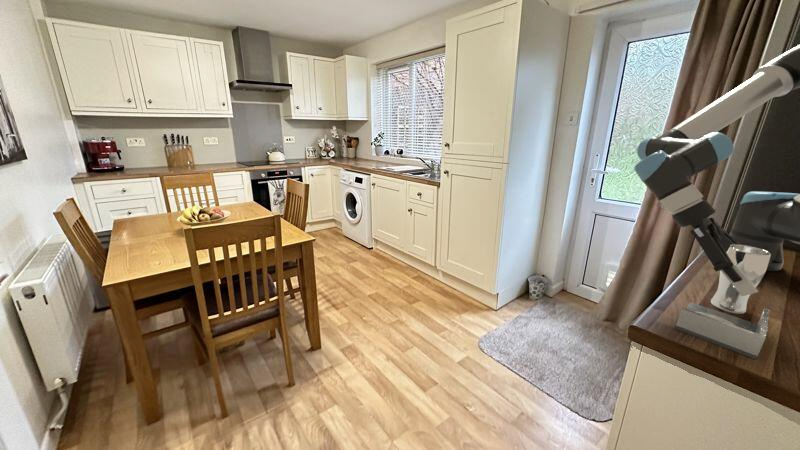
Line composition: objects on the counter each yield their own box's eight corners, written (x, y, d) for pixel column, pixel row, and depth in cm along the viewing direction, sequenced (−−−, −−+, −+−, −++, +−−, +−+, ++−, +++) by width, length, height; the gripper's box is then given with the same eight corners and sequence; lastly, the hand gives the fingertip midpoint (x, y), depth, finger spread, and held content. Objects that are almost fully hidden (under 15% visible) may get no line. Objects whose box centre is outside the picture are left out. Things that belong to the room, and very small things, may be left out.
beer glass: (700, 298, 80) (720, 243, 76) (728, 299, 80) (750, 244, 76) (726, 314, 74) (749, 255, 69) (756, 315, 74) (782, 256, 69)
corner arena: (689, 304, 77) (695, 287, 76) (761, 329, 69) (770, 309, 67) (674, 328, 68) (681, 308, 67) (755, 359, 59) (765, 338, 58)
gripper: (681, 207, 90) (738, 276, 83) (657, 223, 75) (725, 308, 68) (713, 192, 84) (776, 264, 78) (694, 206, 69) (771, 296, 63)
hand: (752, 285), depth 73 cm, fingers open, 12 cm apart
